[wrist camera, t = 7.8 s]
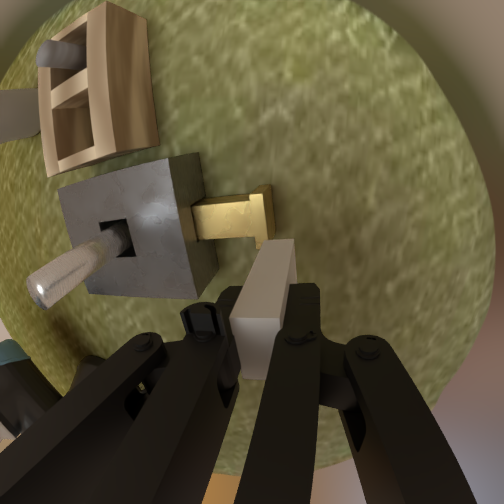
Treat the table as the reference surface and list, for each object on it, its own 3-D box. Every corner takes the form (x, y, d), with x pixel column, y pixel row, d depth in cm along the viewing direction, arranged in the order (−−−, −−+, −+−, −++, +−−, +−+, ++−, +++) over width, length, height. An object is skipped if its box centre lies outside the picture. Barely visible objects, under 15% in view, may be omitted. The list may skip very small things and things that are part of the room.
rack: (91, 165, 28) (25, 184, 19) (80, 54, 22) (18, 47, 13) (159, 145, 25) (90, 156, 16) (146, 19, 20) (84, -8, 11)
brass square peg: (179, 237, 28) (159, 253, 25) (171, 195, 27) (148, 206, 23) (276, 230, 26) (269, 248, 22) (270, 184, 24) (262, 193, 20)
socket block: (117, 270, 33) (88, 293, 27) (93, 177, 28) (57, 189, 23) (219, 268, 29) (198, 299, 24) (198, 152, 25) (167, 158, 19)
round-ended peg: (143, 231, 29) (36, 308, 15) (137, 209, 28) (22, 275, 14) (162, 229, 29) (53, 311, 14) (157, 206, 28) (39, 276, 13)
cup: (53, 115, 26) (0, 122, 18) (24, 156, 29) (-22, 169, 21) (43, 78, 24) (-7, 79, 16) (14, 120, 27) (-29, 129, 19)
